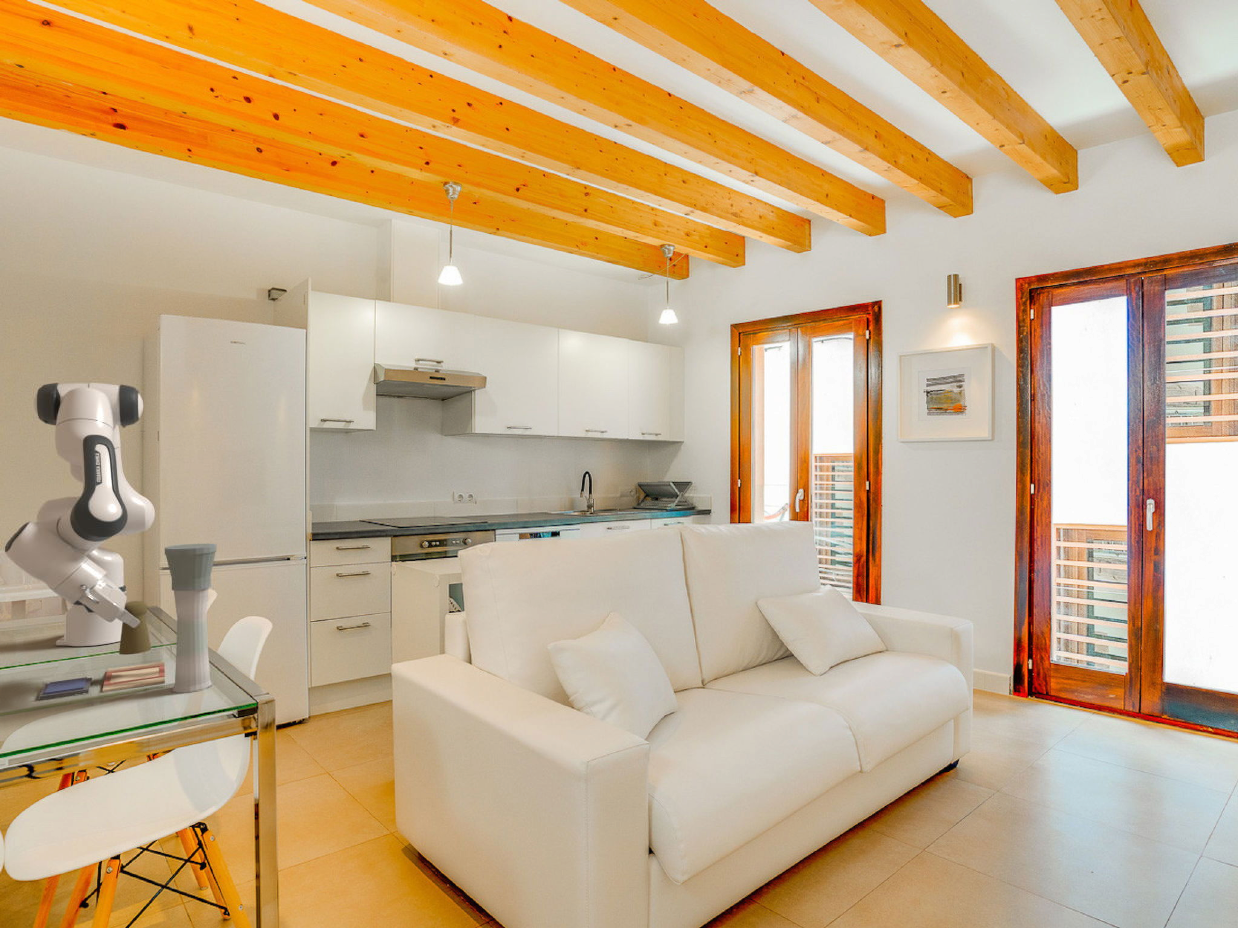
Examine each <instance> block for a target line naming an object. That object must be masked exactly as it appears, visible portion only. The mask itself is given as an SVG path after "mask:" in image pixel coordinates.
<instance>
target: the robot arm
mask: <svg viewBox="0 0 1238 928" xmlns="http://www.w3.org/2000/svg"><path fill="white" fill-rule="evenodd" d="M33 400H34V401H33V407H34V411H35V413H36V414H37V417H38V419H39V420H40V421H41V422H43V423H44V424H46V425H51V426H55V433H54V434H55V435H54V442H55V449H56V452H57V454H58V456H60V458H61V459H63V460H64V461H66V462H68V464H70V466H69V468H70V469H69V470H70V474H71V476H72V477H73V478H74V480H77V481H78V482H80V483H81V484H82V493H81V495H80V496H65V497H60V498H55V499H54V498H53V499H49V500H47V501H45V502H44V503H43V504H42V505H41V506H40V507H39V508H38V511H37V514H36V521H27V522H25V524H23V525H22V526H20V527H19V529H18V530H17V531H16V532H15V533H14V534H13V535H12V536H11V537H10V538H9V540H8V541H7V542H6V544H5V546H4V552H5V555H6V556H7V557H8V558H9V559H10V560H11V561H12V562H13V563H14V564H15V565H16V566H17V567H18V568H20V569H21V570H22V571H24V572H25V573H26V574H28V575H29V576H31V578H32V577H33V578H34V579H36V580H39V581H42V582H43V583H45V584H46V585H47V587H48V588H49V589H50V590H51V591H52V592H53V593H55V594H56V595H58V596H59V597H61V598H62V599H63V600H65V601H66V602H67V603H68V604H71V605H72V606H70V608H69V609H68V610H67V611H65V613H64V636H62V637H61V638H60V639H58V640H56V641H55V645H56V646H69V647H70V646H71V647H89V646H99V645H106V644H113V643H117V642H120V640H121V632H122V623H123V622H124V623H126V624H128V625H130V626H131V627H133V628H135V627H136V626H137V625H138V624H139V623H140V620H139V619H137V618H136V617H134V616H133V615H131V614H130V613H129V612H128V611H126V610H125V609H124V608H125V604H126V603H127V602H128V601H127V599H128V596H127V587H126V585H125V578H124V576H125V572H124V571H125V568H124V565H125V564H124V559H123V557H122V556H121V555H120V554H119V553H118V552H116V551H115V550H112V549H108V548H105V547H102V546H101V545H103V544H104V543H106V542H107V541H108V540H109V539H111V538H112V537H114V536H128V535H134V534H139V533H142V532H146V531H148V530H149V529H150V528H151V526H152V525H153V524H154V521H155V517H156V511H155V507H154V505H153V503H152V502H151V501H150V500H149V499H148V498H147V497H145V496H143V495H142V494H140V493H139V492H137V490H135V489H134V488H133V487H132V486H131V484H129V482H128V480H127V479H126V476H125V473H124V469H123V461H122V448H121V447H122V446H121V443H122V442H121V434H120V427H122V428H127V427H128V426H132V425H134V424H136V423H138V422H139V421H140V417H141V416H142V414H143V410H144V402H143V401H144V400H143V398H142V396H141V394H140V391H139V390H138V389H137V388H136V387H135V386H130V385H126V384H120V385H119V384H110V383H101V382H87V383H86V382H85V383H84V382H75V383H74V382H73V383H59V382H52V383H46V384H43V385H42V386H40V387H39V388H38V389H37V393H36V394H35V396H34V399H33ZM119 426H120V427H119Z"/></svg>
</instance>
